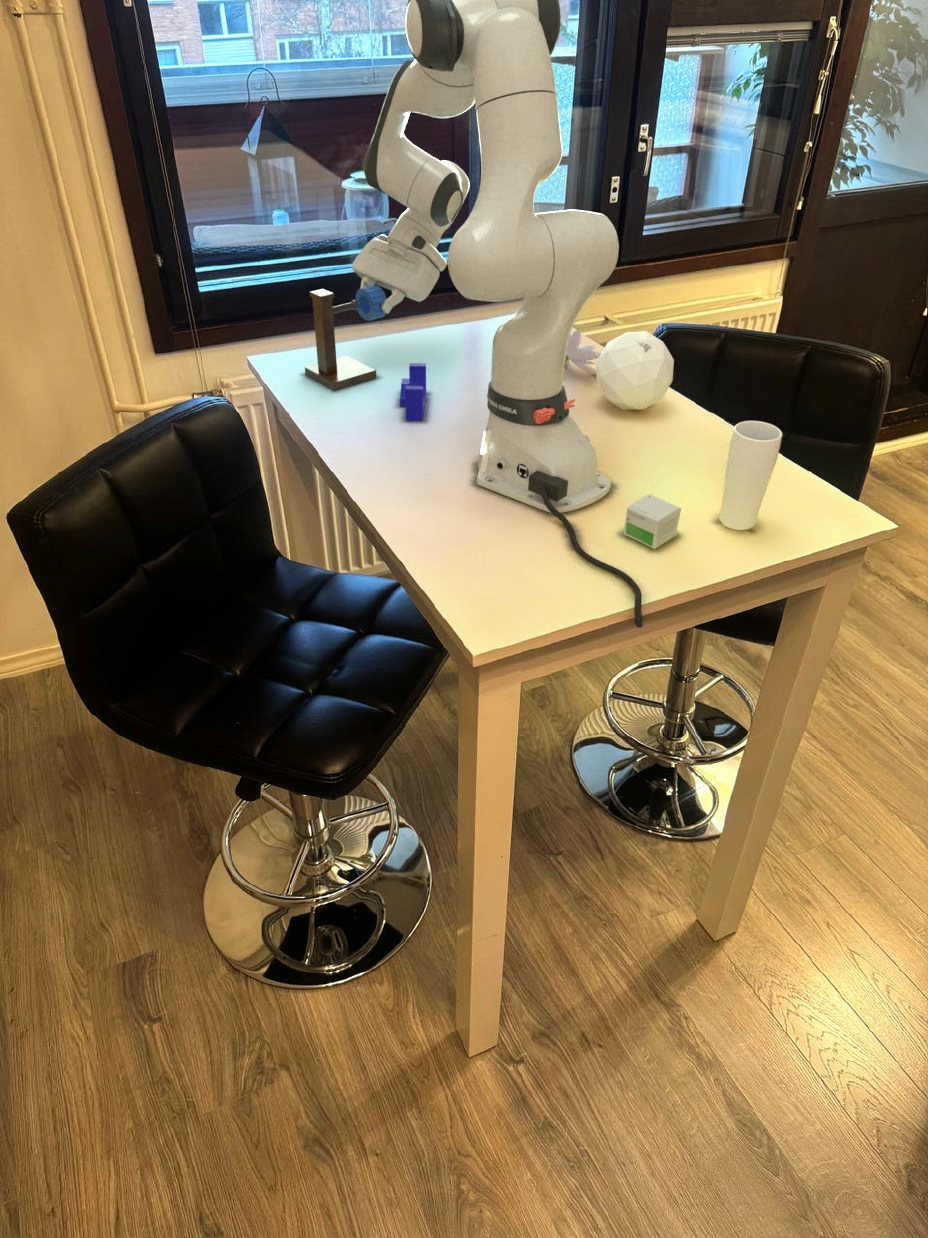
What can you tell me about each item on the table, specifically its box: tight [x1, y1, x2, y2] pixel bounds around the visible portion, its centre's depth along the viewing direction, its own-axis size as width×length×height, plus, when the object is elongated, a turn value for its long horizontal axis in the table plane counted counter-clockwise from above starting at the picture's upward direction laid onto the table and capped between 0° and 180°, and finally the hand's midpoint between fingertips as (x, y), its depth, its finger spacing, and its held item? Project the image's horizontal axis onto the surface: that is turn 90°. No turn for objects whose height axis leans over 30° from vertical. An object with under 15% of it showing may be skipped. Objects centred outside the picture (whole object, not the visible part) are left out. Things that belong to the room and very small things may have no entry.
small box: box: [623, 494, 682, 550], centre depth 130 cm, size 6×6×5 cm
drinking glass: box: [718, 420, 783, 531], centre depth 131 cm, size 7×7×15 cm
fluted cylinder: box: [354, 284, 388, 321], centre depth 174 cm, size 3×6×6 cm, turn 41°
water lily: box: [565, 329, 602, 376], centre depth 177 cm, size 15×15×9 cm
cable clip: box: [399, 362, 427, 422], centre depth 164 cm, size 12×4×6 cm, turn 179°
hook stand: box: [304, 288, 377, 391], centre depth 172 cm, size 10×10×17 cm
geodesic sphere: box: [595, 330, 675, 411], centre depth 164 cm, size 15×14×14 cm
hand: (371, 305), depth 174 cm, fingers closed on fluted cylinder, 6 cm apart
